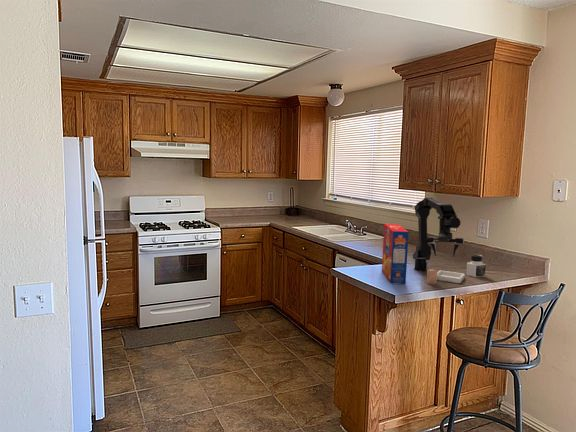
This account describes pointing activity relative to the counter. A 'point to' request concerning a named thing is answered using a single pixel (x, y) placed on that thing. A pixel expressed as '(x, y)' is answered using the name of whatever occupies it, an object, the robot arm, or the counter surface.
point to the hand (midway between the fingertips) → (444, 256)
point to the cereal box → (395, 253)
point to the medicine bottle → (476, 266)
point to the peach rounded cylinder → (431, 276)
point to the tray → (450, 276)
